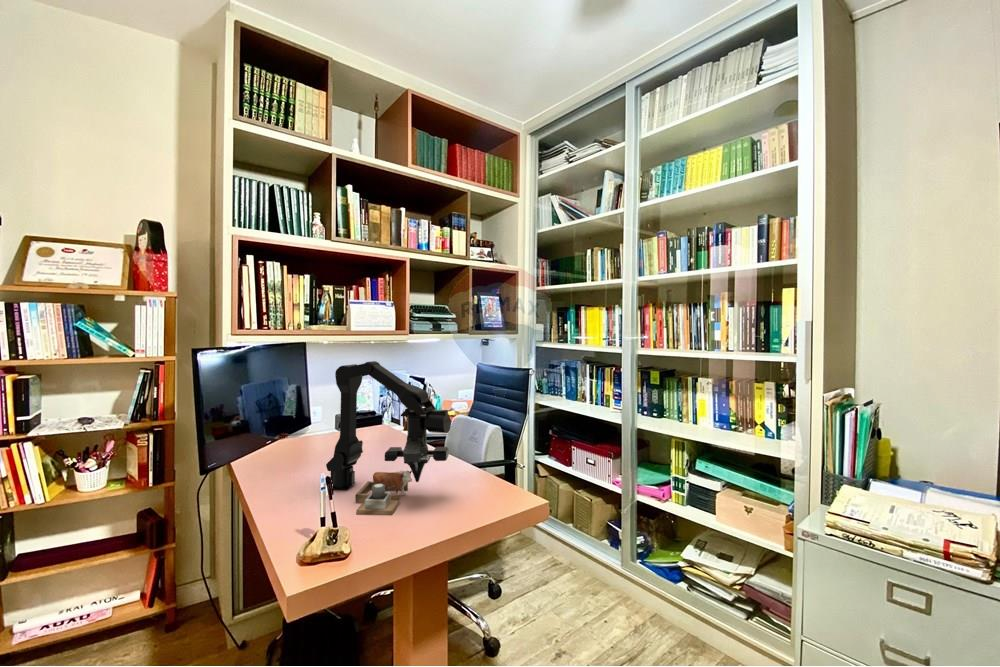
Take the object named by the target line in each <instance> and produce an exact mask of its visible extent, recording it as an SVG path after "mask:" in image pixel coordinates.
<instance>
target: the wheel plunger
mask: <svg viewBox="0 0 1000 667" xmlns="http://www.w3.org/2000/svg"><path fill="white" fill-rule="evenodd" d="M371 493H372V498H374V499H381V498H383V497H385V493H386V491H385V484H374V485H373V486H372V490H371Z"/></svg>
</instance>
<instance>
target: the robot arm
mask: <svg viewBox="0 0 1000 667" xmlns="http://www.w3.org/2000/svg"><path fill="white" fill-rule="evenodd" d="M367 376H369V377H371V378H372V379H374V380H375V381H377V382H378V383H379V384H380V385H382V386H384V387H385V388H386V389H388V390H389V391H390V392H392V393H393V394H395V396H396V397H397V398H398V400H399V402H400V403H401V404H402V405H403V406H404V407H405V409H404V411H403V412H402V413H401V414H400V417H405V418H406V417H407V419H406V420H407V424H406V425H407V427H406V428H407V436H406V443H405V445H404V448H403V447H402V446H390V447H389V448H388V449H387V450H386V451H385V452H384V461H385V462H395V461H396V460H397V459H398V458H403V463H404V465H405V464H407V465H408V467H409V468H410V471H412V472H411V474H412V475H413V478H414V481H415V482H416V483H419V481H420V479H421V475H422V473H423V469H424V467H425V464H428V463H429V461H430V459H431V458H432V459H433V460H434V461H435V462H445V461H447V460H448V457H449V455H450V454H449V451H450V450H449V448H448V446H436V447H435V448H434V450H429V446H428V444H427V436H428V435H427V434H428V432H429V433H437V434H438V433H439V434H440V433H441V434H448V433H449V431H451V427H452V419H451V416H450V414H449V410H448V409H441V410H440V409H437V408H436V407H435V406H434V403H433V402H432V401H431V400H430V397H429V393H428V391H426V390H425V389H423V388H421V387H419V386H416V385H413V384H410V383H407V382H406V381H404V380H403V379H402V378H400V377H398V376H396V375H395V374H394V373H392V372H391V371H390V370H388V369H387V368H386V367H384V366H383V365H381V364H380V363H379V362H378V361H377V360H376V361H375V360H373V361H366V362H365V363H361V364H360V363H359V364H356V363H355V364H354V363H353V364H346V365H340V366H338V368H336V370H335V383H336V386H337V388H338V390H339V392H340V414H339V415H340V417H339V418H340V420H339V421H340V422H339V438H338V440H337V442H336V444H335V446H334V451H333V457H332V458H330V460H329V461H328V462H327V463H326V465H325V466H326V470H327V472H330V481H331V480H332V484H333V490H334V491H335V490H336V491H348V490H350V489H351V488H352V487H353V486H354V484H356V476H355V474H356V472H355V470H354V465H357V462H358V460H359V459H360V458H361V456H362V453H364V451H363V444H364V443H363V440H359V438H358V437H357V412H358V411H357V410H358V409H357V407H358V404H357V403H358V402H357V401H358V391H359V389H360V386H361V385H362V382H363V378H364V377H367ZM427 431H428V432H427ZM402 448H403V449H402ZM333 490H332V491H333Z"/></svg>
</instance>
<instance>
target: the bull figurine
mask: <svg viewBox="0 0 1000 667" xmlns="http://www.w3.org/2000/svg"><path fill="white" fill-rule="evenodd" d="M411 474H412V470H399V471H395V472H388V471H375V472H374V473H373V474H372V475H373V476H372V482H374V484H375V483H376V484H385V486H386V487H387V488H388V489H390V487H395V488H396V491H395V495H399V492H400V491H399V489H401V490H402V491H401V494H402V495H403V496H405V495H407V493H406V491H404V486H405V485H406V484H407V482H408V483H411V482H412V481H413V479H412V477H411Z"/></svg>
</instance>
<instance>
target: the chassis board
mask: <svg viewBox="0 0 1000 667" xmlns="http://www.w3.org/2000/svg"><path fill="white" fill-rule="evenodd" d="M375 484H376V483H375ZM373 485H374V482H373V481H369V480H368V481H367V482H366V483H364V485H363V486H362V487H361V488H360V489H359V490H358V491H357V492H356V493H355V496H354V497H355V500H354V502H355V504H360V505H359V506H358V507H357V509H356V515H365V516H366V515H368V516H369V515H370V516H371V515H372V516H393V515H394V513H395V512H396V510H397V508H398V507H399V505H400V504H401V494H398V495H395V494H396V493H395V494H392V493H391V492H396V488H395V487H390V489H388V488H387V487H386V486H385V497H383V498H381V499H374V498H372V492H370V491H372V486H373ZM408 490H409V482H407V484H406V485H405V486H404V491H405V492H407V491H408ZM386 491H388V492H386ZM369 492H370V493H369ZM399 492H402V490H401V489H399Z"/></svg>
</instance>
